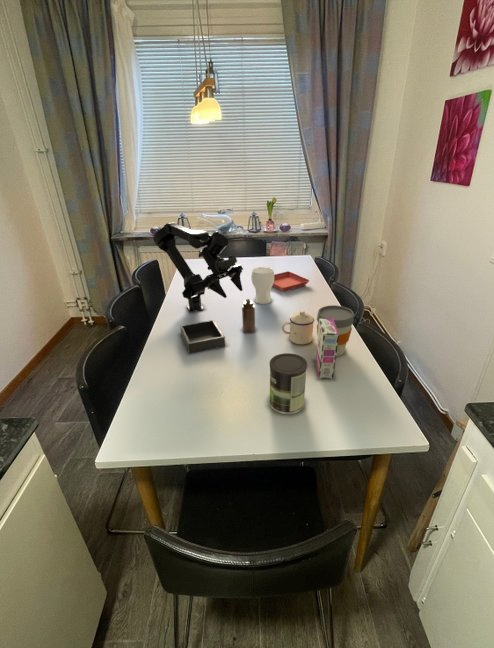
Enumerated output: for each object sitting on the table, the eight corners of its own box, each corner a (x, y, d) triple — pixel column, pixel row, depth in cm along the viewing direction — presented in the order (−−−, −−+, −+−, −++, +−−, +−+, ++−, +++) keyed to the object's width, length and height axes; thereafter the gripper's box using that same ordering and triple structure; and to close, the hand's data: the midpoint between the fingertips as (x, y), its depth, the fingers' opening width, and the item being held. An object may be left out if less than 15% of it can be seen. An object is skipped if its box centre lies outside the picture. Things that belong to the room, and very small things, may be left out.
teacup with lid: (311, 333, 138) (313, 306, 132) (314, 344, 131) (316, 316, 125) (280, 333, 138) (281, 306, 132) (282, 345, 131) (283, 317, 125)
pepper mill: (241, 328, 143) (239, 297, 136) (252, 326, 144) (251, 295, 137) (245, 333, 139) (244, 302, 132) (256, 331, 140) (256, 300, 133)
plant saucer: (309, 286, 182) (310, 279, 181) (282, 293, 174) (282, 287, 172) (288, 276, 195) (288, 270, 194) (261, 283, 187) (261, 277, 185)
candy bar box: (334, 379, 112) (339, 334, 103) (318, 379, 112) (322, 334, 103) (329, 360, 121) (334, 317, 113) (314, 360, 122) (318, 317, 113)
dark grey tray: (181, 334, 139) (180, 325, 137) (214, 328, 143) (213, 319, 141) (189, 353, 127) (188, 344, 125) (225, 346, 131) (224, 336, 129)
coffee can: (271, 416, 98) (271, 374, 90) (267, 393, 106) (267, 354, 99) (307, 413, 98) (311, 372, 91) (300, 391, 107) (303, 351, 100)
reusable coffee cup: (307, 345, 130) (310, 308, 122) (336, 338, 134) (340, 302, 127) (326, 362, 120) (330, 323, 113) (356, 354, 125) (362, 316, 117)
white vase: (272, 305, 162) (272, 274, 154) (249, 304, 163) (248, 273, 156) (275, 297, 170) (276, 267, 163) (254, 295, 172) (253, 266, 164)
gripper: (205, 255, 127) (227, 291, 127) (239, 244, 139) (260, 277, 139) (192, 270, 135) (213, 304, 136) (226, 259, 147) (245, 290, 148)
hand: (234, 294), depth 139 cm, fingers open, 9 cm apart
